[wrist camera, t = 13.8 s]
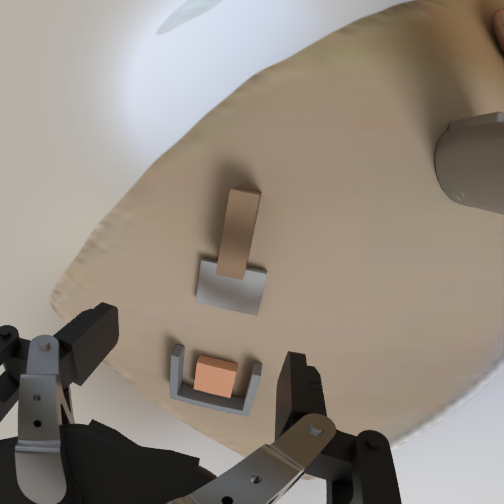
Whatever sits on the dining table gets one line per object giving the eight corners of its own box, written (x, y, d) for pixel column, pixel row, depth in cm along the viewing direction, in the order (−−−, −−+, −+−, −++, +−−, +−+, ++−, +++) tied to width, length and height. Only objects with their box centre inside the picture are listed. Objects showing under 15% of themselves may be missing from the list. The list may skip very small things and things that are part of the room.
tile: (200, 353, 34) (196, 362, 32) (238, 362, 34) (236, 371, 32) (197, 379, 35) (193, 388, 33) (232, 388, 35) (230, 398, 33)
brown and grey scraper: (215, 183, 28) (205, 185, 24) (283, 196, 28) (284, 200, 24) (197, 298, 31) (188, 314, 28) (257, 311, 31) (255, 329, 27)
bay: (177, 344, 33) (170, 355, 31) (261, 363, 33) (260, 376, 31) (174, 386, 36) (169, 397, 33) (250, 404, 35) (248, 416, 33)
